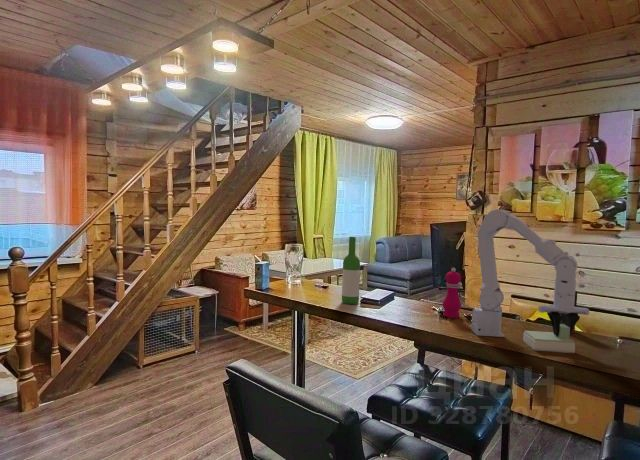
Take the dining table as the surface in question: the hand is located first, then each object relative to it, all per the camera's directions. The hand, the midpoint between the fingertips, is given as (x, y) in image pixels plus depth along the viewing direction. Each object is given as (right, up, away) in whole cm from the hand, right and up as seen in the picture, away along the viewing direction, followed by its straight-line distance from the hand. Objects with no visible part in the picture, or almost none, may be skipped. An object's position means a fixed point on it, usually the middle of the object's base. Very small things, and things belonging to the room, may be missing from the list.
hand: (561, 335), depth 130 cm
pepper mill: (-24, -2, +35) cm, 43 cm away
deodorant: (+13, -4, +20) cm, 24 cm away
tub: (-4, -4, +1) cm, 6 cm away
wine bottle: (-64, +1, +53) cm, 83 cm away
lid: (-4, -1, +1) cm, 4 cm away
